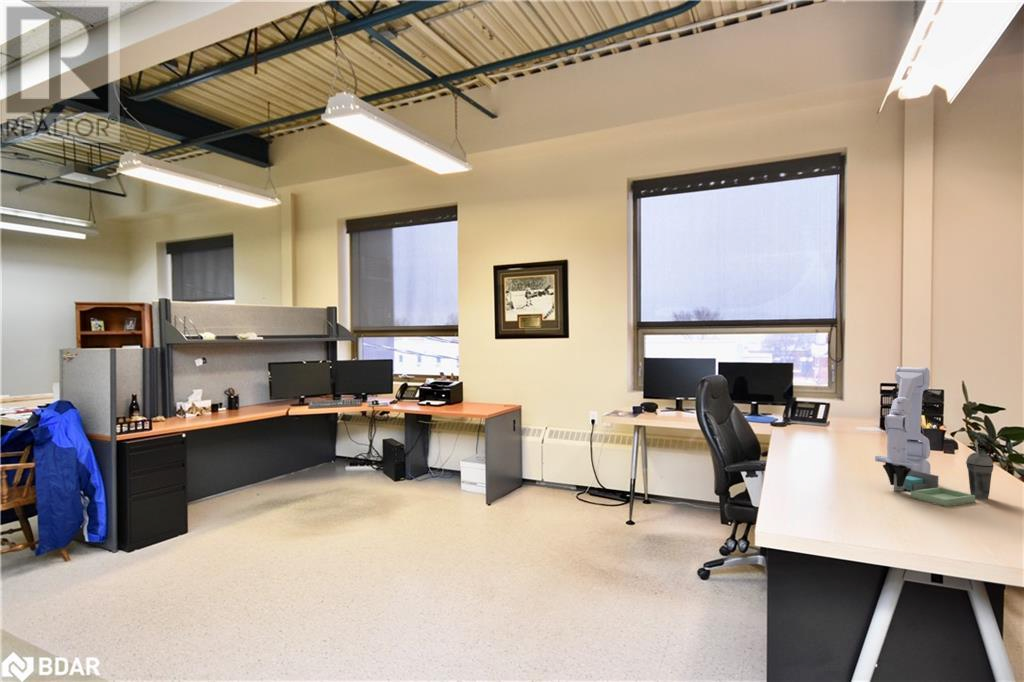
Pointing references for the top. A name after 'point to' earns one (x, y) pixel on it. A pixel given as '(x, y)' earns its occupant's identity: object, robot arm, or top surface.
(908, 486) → the cyan and grey piece
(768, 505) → the top surface
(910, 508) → the top surface
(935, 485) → the rack
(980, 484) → the beverage cup
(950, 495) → the tray
